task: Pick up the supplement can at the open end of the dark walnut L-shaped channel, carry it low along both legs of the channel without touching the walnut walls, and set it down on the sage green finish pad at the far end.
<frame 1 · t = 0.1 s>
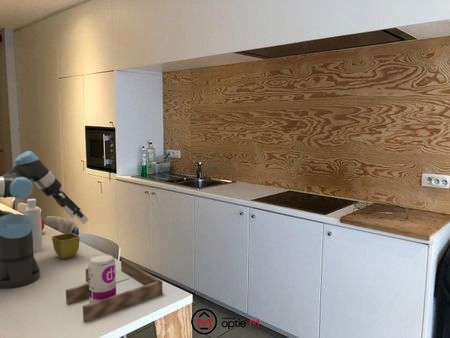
hand: (80, 218, 163), 15 cm above the table, tool tilted 35°, fingers open, 13 cm apart
flower pot: (66, 256, 159), on the table
tomato: (33, 235, 189), on the table
supplement can: (103, 303, 119), on the table
finish pad: (111, 278, 137), on the table
spray bottle: (34, 250, 167), on the table
channel walls: (106, 292, 126), on the table
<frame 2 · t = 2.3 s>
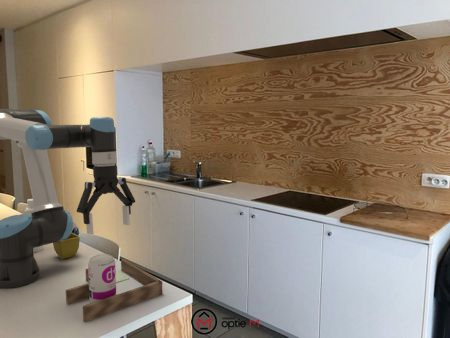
hand: (109, 229, 121), 23 cm above the table, tool pointing down, fingers open, 13 cm apart
nothing on the table moved.
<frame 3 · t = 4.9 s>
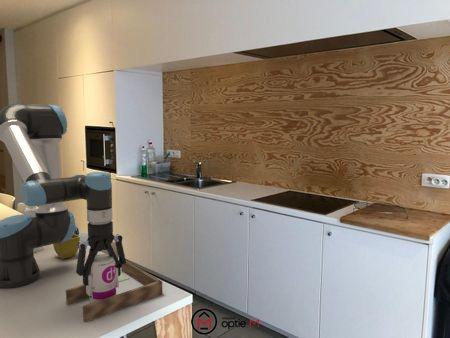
hand: (102, 290, 118), 4 cm above the table, tool pointing down, fingers closed on supplement can, 8 cm apart
supplement can: (103, 303, 119), on the table, touching gripper
everything else where it was.
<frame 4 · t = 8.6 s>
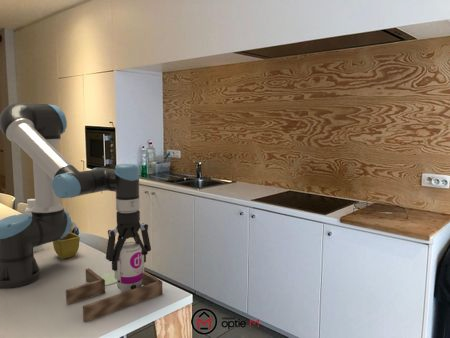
hand: (129, 275, 125), 6 cm above the table, tool pointing down, fingers closed on supplement can, 8 cm apart
supplement can: (130, 288, 126), point 2 cm above the table, touching gripper
everything else where it was.
when the fingers open (6 cm above the table, at t = 12.1 s): supplement can drops 1 cm, resting on finish pad.
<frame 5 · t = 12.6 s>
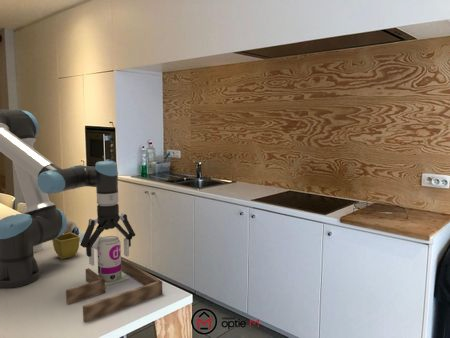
hand: (109, 259, 136), 7 cm above the table, tool pointing down, fingers open, 13 cm apart
supplement can: (110, 278, 137), resting on finish pad
everything else where it was.
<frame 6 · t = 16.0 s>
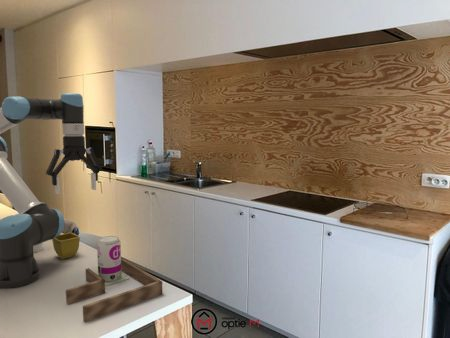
hand: (76, 191, 139), 32 cm above the table, tool pointing down, fingers open, 13 cm apart
nothing on the table moved.
at the end: supplement can inside the target area (0.1 cm from its centre), resting on finish pad; supplement can tilted 0°; supplement can touching finish pad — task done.
